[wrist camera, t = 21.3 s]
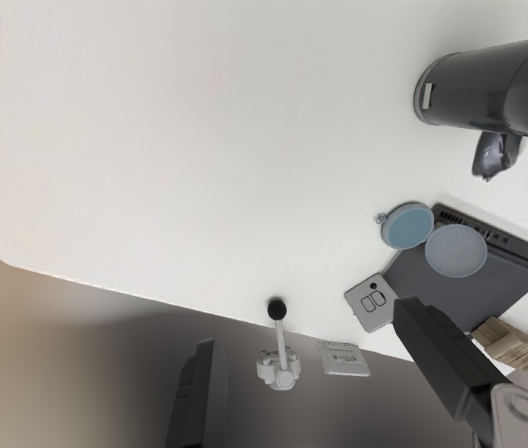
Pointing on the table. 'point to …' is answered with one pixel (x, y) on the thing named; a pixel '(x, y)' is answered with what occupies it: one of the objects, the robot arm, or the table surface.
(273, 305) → the valve
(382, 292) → the electrical switch
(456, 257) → the pocket watch
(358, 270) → the table surface
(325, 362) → the cassette
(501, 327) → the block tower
